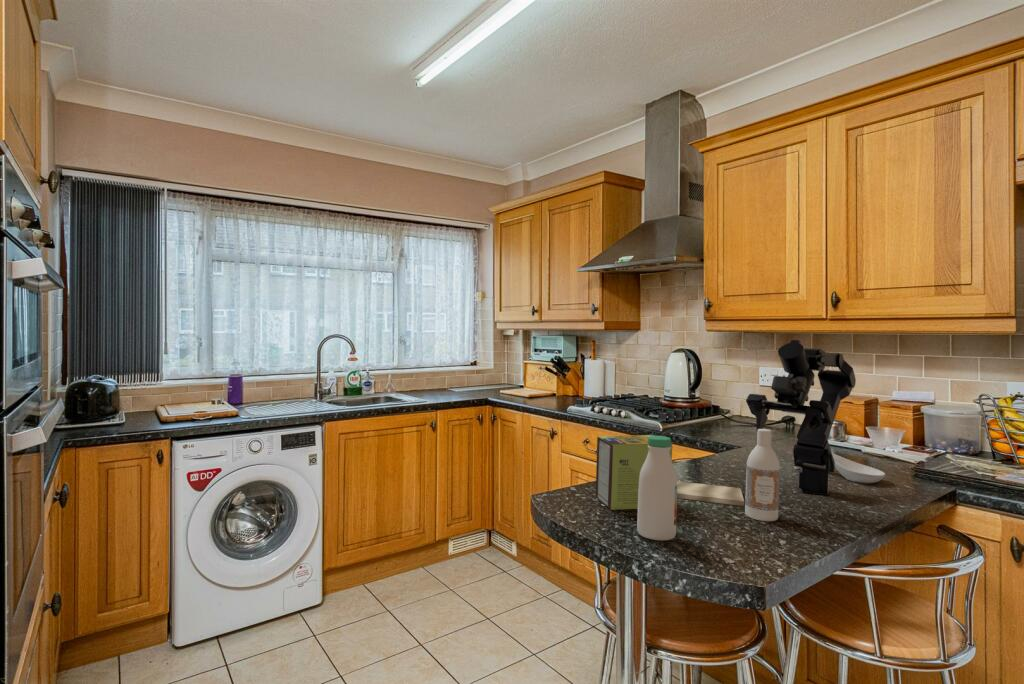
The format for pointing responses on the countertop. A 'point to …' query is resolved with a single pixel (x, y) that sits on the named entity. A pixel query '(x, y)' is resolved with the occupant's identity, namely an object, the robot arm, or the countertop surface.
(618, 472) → the protein box
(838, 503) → the countertop surface
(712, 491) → the birch board
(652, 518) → the milk bottle
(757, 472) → the bath foam
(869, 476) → the spoon rest
